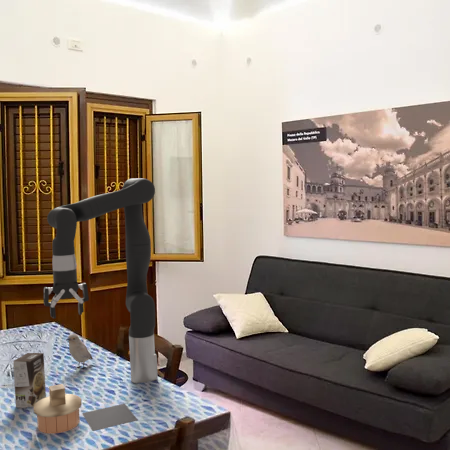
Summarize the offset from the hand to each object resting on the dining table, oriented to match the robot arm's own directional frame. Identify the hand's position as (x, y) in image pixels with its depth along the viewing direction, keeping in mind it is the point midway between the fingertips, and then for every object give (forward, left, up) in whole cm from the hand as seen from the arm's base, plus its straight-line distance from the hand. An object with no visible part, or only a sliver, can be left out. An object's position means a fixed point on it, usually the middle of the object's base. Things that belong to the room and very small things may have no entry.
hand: (67, 316), depth 178 cm
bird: (-10, -33, -30) cm, 46 cm away
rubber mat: (-8, +18, -30) cm, 36 cm away
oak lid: (+7, +15, -24) cm, 29 cm away
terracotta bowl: (+7, +15, -30) cm, 34 cm away
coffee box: (+12, -8, -30) cm, 34 cm away
